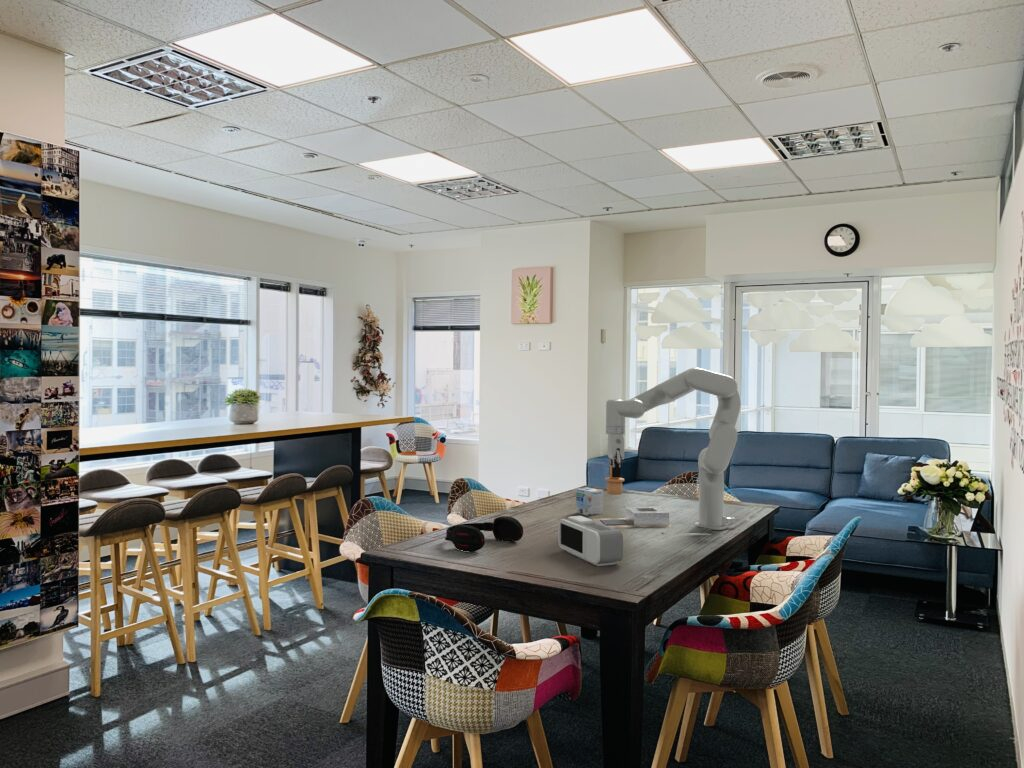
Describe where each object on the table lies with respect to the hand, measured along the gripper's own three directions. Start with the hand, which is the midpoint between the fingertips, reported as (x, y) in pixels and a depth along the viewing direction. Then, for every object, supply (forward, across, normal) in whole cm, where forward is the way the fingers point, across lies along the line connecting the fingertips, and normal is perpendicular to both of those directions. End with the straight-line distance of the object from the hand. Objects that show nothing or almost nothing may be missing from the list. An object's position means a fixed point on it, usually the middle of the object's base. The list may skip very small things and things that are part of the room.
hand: (614, 475), depth 309 cm
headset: (+20, -32, +54) cm, 66 cm away
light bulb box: (+20, +25, +5) cm, 32 cm away
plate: (+20, 0, -7) cm, 21 cm away
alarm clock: (+20, -52, +21) cm, 59 cm away
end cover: (+7, 0, 0) cm, 7 cm away
